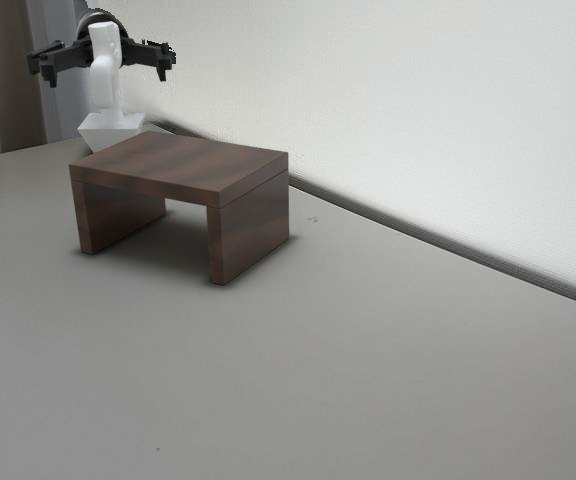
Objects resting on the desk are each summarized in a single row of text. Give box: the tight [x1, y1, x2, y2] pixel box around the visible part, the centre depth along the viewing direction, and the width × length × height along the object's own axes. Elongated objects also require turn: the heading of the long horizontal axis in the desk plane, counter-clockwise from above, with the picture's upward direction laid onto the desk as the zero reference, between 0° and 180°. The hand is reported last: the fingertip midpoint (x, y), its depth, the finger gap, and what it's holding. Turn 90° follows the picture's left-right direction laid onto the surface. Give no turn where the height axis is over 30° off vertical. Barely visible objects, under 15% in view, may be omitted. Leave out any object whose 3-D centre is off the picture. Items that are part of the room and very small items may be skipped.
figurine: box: [76, 21, 147, 154], centre depth 105 cm, size 7×9×15 cm
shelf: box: [67, 129, 290, 286], centre depth 81 cm, size 16×12×8 cm
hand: (107, 73), depth 108 cm, fingers open, 13 cm apart
